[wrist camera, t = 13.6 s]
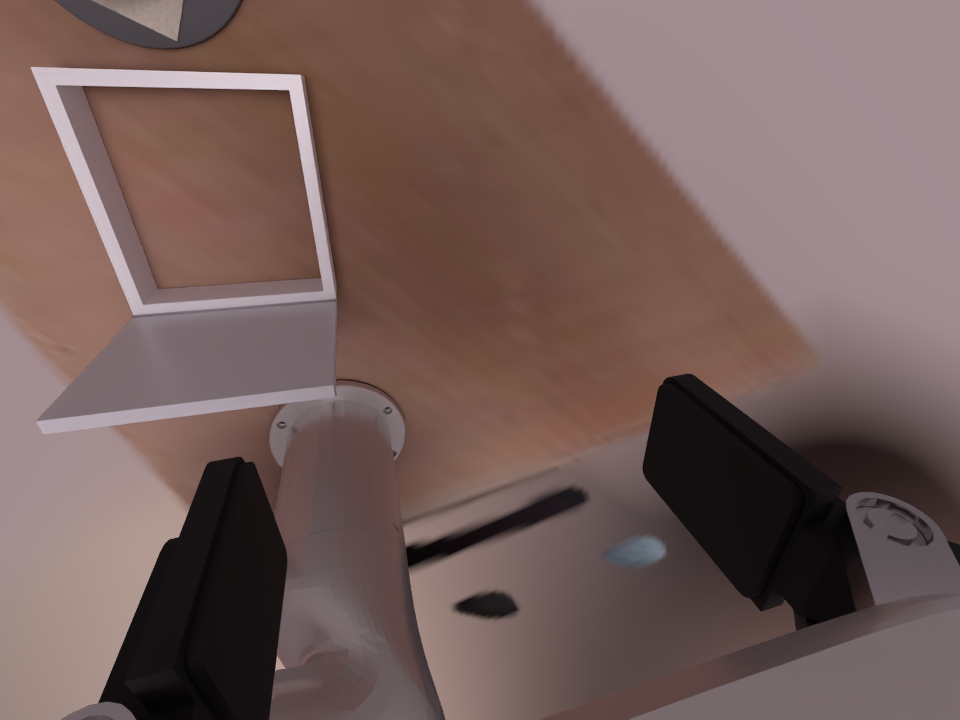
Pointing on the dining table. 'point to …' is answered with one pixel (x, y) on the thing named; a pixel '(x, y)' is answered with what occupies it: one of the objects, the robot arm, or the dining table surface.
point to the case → (191, 288)
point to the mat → (202, 18)
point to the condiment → (150, 13)
